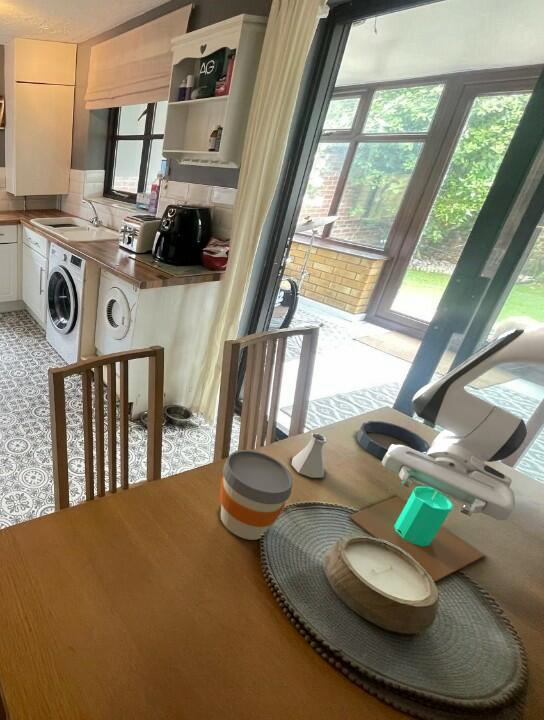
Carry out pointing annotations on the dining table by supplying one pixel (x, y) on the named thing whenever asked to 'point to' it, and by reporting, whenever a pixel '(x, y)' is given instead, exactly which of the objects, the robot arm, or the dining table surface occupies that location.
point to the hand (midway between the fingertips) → (435, 497)
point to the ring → (392, 431)
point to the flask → (311, 458)
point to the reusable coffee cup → (253, 492)
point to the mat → (435, 558)
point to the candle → (423, 515)
